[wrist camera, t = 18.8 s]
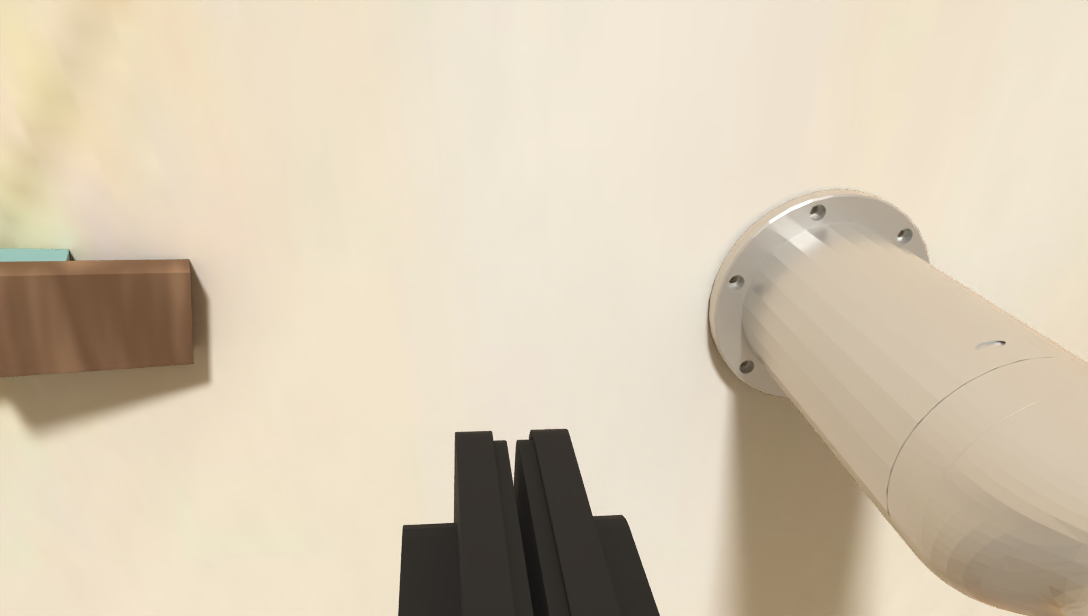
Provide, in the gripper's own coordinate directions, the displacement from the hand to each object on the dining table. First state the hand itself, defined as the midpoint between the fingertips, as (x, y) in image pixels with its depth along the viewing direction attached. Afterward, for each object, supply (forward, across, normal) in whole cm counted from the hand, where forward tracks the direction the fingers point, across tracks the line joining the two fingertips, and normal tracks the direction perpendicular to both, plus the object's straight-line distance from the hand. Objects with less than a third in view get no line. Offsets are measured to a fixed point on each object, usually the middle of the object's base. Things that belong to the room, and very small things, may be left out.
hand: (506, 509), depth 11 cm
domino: (+26, +13, +9) cm, 31 cm away
